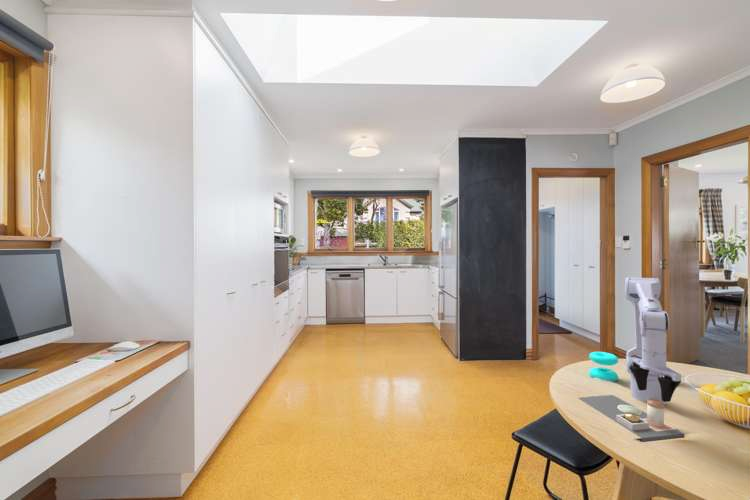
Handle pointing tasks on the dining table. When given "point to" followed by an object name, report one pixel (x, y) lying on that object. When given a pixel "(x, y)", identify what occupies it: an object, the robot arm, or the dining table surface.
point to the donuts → (603, 359)
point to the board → (616, 412)
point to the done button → (632, 417)
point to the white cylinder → (655, 412)
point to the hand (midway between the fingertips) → (653, 395)
